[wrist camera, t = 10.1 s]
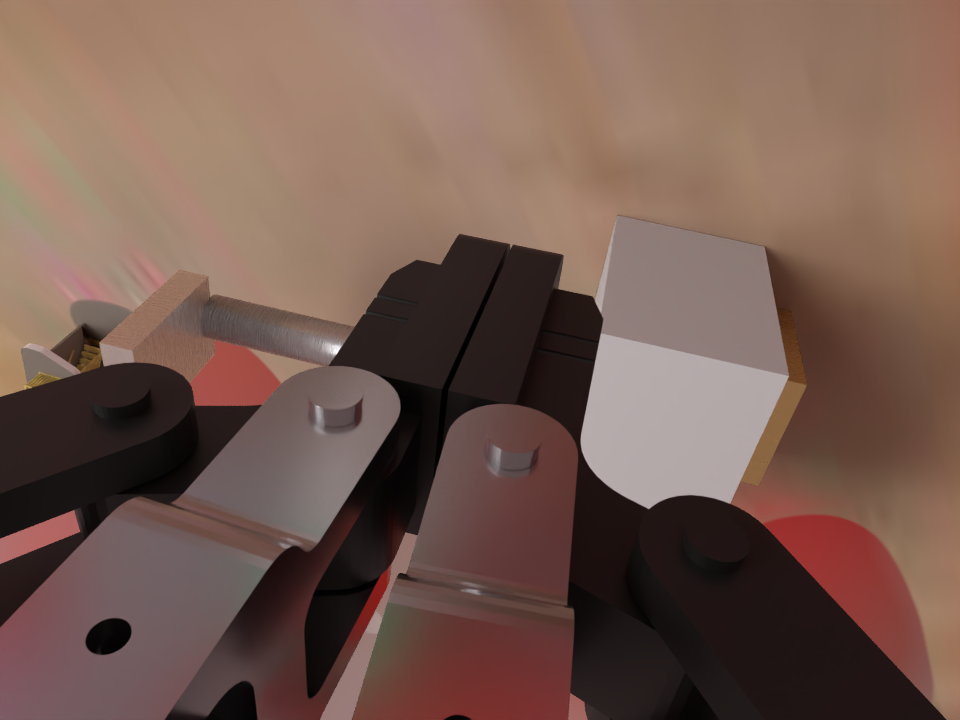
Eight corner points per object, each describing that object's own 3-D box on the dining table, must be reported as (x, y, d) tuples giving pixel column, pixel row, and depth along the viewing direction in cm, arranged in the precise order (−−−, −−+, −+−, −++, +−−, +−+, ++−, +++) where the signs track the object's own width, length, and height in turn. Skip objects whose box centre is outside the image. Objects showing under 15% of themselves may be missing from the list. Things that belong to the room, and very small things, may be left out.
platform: (170, 290, 53) (113, 343, 47) (180, 475, 63) (134, 534, 58) (6, 242, 53) (-68, 289, 48) (43, 433, 64) (-15, 488, 59)
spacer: (791, 311, 44) (807, 385, 38) (749, 407, 48) (758, 486, 42) (746, 301, 44) (755, 373, 38) (708, 397, 48) (712, 474, 42)
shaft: (676, 370, 39) (675, 482, 33) (650, 443, 42) (644, 559, 36) (191, 259, 42) (99, 342, 35) (198, 335, 45) (115, 425, 38)
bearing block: (764, 246, 42) (788, 376, 32) (689, 439, 50) (690, 588, 40) (617, 215, 43) (597, 332, 33) (566, 410, 51) (539, 549, 41)
